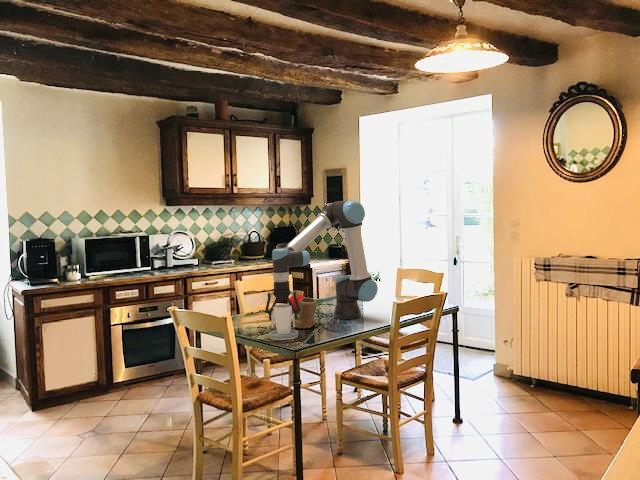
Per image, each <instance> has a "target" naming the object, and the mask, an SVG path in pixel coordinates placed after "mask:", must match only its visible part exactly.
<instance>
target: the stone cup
mask: <svg viewBox="0 0 640 480" xmlns="http://www.w3.org/2000/svg"><path fill="white" fill-rule="evenodd" d="M317 304H318V302H317V300H316V299H315V298H312V297H305V298H301V299H300V300H299V307H300V312H298V314H299V315H298V316H299V320H298V321H295V327H294V328H297V329H310V328H312V327H313V326H314V325H316V323H317V320H316V319H314V317H315V314H316V311H317V309H318V308H317V306H318V305H317Z"/></svg>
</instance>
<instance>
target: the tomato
mask: <svg viewBox="0 0 640 480" xmlns="http://www.w3.org/2000/svg"><path fill="white" fill-rule="evenodd" d="M296 297H297V300H298V303H299V300H300V299H301V298H306V297H305V296H304V295H303V294H302V293H299V294H298V293H296ZM289 299H290V301H291V302H292V304H293V305H294V307H295V309H296V310H297V307H296V304H295V301H294V297H293V296H292V295H291V296H290V297H289ZM292 312H294V311H293V310H292Z"/></svg>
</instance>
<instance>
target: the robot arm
mask: <svg viewBox="0 0 640 480" xmlns="http://www.w3.org/2000/svg"><path fill="white" fill-rule="evenodd" d="M365 217H366V210H365V207H364V206H363V205H362V204H361V203H360V202H359V201H356V200H341V201H340V200H337V201H333V202H331V203H330V204H328V205H327V206H326V207H324V209H322V210H321V211H320V212H319V213H318V214H317V216H316V218H315V219H314V220H312V222H311V223H309V224H308V225H307V226H306V227H305V228H304V229H303V230H302V231H300V233H298V234H297V235H296V236H295V237H294V238H293V239H292V240H291V241H289V242H288V243H287V244H286V245H285V246H283V248H274V249H272V252H271V253H272V254H271V255H272V256H271V259H272V277H273V292H268V293H267V301H266V305H265V310H264V313H265V314H268V321H270V322H271V328H273V329H274V327H275V326H274V325H275V324H274V323H275V319H274V312H273V307H275V305H277V303H278V301H286V302H287V304H289V305H290V306H292V310H293V311H292V326H293V328H296V327H295V323H296V320H297V319H298V313H299V312H300V307H299V303H298V300H297V297H296V294H297V291H296V290H294V291H291V290H290V281H289V280H290V272H289V271H290V270H289V269H291V268H295V267H297V268H298V267H304V266H308V265H309V264H310V262H311V255H310V252H308V251H307V250H304V249H305V248H306V247H308V246H309V245H310V244H311V243H313V241H314V240H315V239H316V238H317V237H319V236H320V235H321V234H322V233H323V232H324V231H326V229H330V228H331V227H332V226H334V225H336V224H339V228H340V229H341V230H342V231H343V234H344V239H345V244H346V250H347V251H346V252H347V256H348V261H349V268H350V272H351V273H350V274H347V275H340V276H337V277H335V282H334V283H335V299H336V301H335V302H336V305H335V307H334V311H333V318H334V319H337V320H355V319H356V320H357V319H359V318H361V317H362V312H361V308H360V305H359V303H358V302H359V301H360V302H365V303H368V302H371V301H373V300H374V299H375V297H376V296H377V293H378V291H379V289H378V284H377V282H375V281H374V279H372V274H371V272H368V268H367V260H366V255H365V249H364V243H363V238H362V232H361V227H362V226H363V221H364V219H365ZM290 295H291V296H293V297H294V301H295V304H296V307H297V310H296V309H295V307H294V305H293V304H292V302H291V301H290V297H289V296H290ZM273 296H274V297H275V299H274V301H273V304H272V306H271V307H270V303H271V298H272V297H273ZM269 308H270V309H269Z"/></svg>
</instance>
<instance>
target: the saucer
mask: <svg viewBox="0 0 640 480" xmlns="http://www.w3.org/2000/svg"><path fill="white" fill-rule="evenodd" d="M268 337H269V339H270V340H272V341H273V340H274V341H287V340H288V341H289V340H290V341H291V340H293V339H294V340H295V339H296V338H298V337H299V330H296V329H292V328H291V331H290V333H288V334H278V333H277V329H276V330H272V331H269V333H268Z"/></svg>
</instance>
